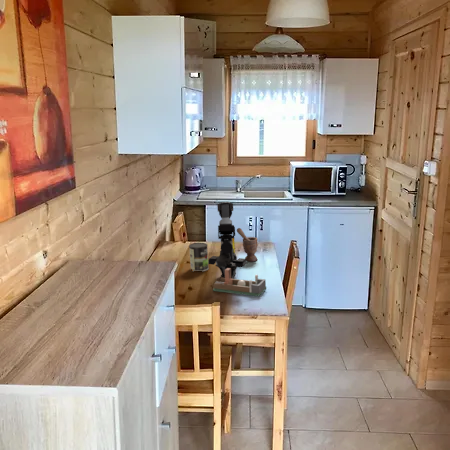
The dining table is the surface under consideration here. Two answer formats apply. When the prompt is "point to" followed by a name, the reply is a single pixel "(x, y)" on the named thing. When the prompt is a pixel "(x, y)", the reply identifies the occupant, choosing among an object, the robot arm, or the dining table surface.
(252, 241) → the mortar and pestle
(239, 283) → the ball
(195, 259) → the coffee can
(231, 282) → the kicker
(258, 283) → the pitch
